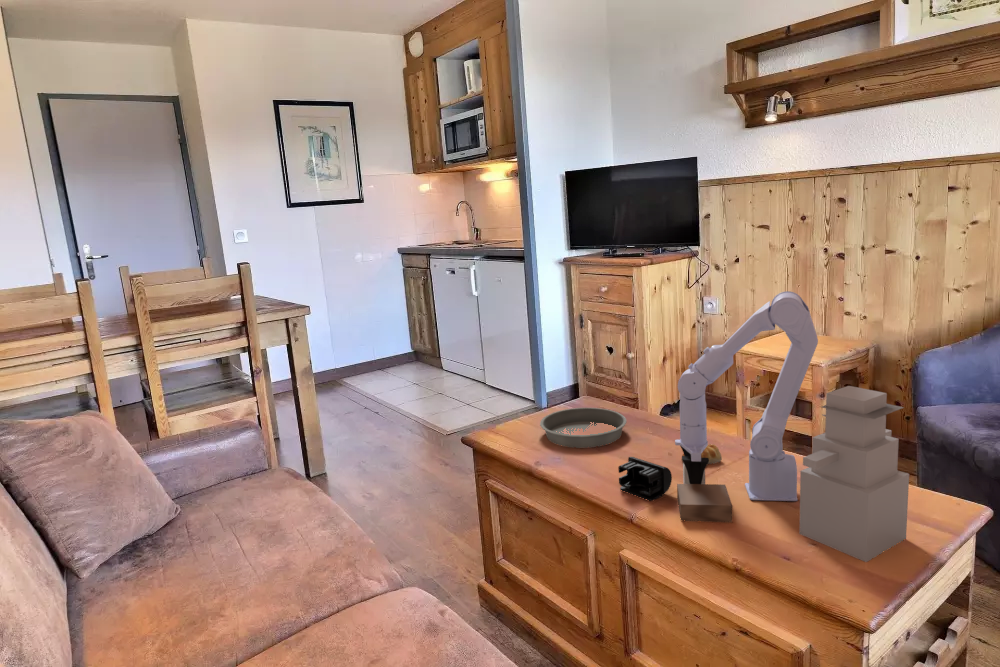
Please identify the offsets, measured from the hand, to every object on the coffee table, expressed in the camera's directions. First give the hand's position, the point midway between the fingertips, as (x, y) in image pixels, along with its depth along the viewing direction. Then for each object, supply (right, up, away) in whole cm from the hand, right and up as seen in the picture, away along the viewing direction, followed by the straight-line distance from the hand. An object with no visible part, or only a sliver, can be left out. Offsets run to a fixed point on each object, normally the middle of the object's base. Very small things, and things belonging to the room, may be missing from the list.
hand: (694, 479), depth 148 cm
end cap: (-11, -3, 0) cm, 12 cm away
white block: (0, -2, 0) cm, 2 cm away
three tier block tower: (+22, -5, -25) cm, 34 cm away
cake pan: (-20, +4, +39) cm, 44 cm away
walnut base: (-1, -4, -11) cm, 12 cm away
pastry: (+7, +1, +15) cm, 16 cm away
